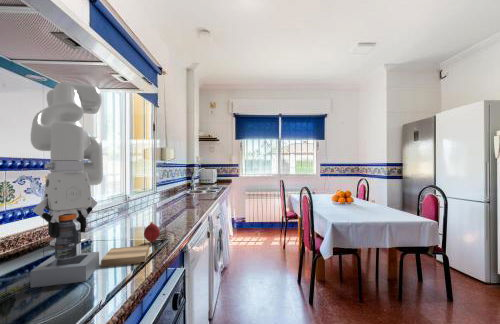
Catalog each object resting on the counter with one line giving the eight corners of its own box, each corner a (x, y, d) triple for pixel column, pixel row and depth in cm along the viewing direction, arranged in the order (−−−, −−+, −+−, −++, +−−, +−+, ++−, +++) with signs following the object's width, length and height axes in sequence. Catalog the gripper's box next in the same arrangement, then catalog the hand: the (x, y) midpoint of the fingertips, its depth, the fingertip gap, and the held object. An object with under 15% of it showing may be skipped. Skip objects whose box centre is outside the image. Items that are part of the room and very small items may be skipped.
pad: (111, 254, 90) (110, 248, 90) (149, 250, 93) (149, 245, 93) (101, 267, 78) (101, 260, 78) (145, 262, 81) (145, 255, 81)
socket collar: (52, 270, 77) (52, 255, 77) (99, 265, 80) (99, 251, 80) (30, 287, 65) (30, 271, 65) (86, 281, 68) (85, 265, 68)
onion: (162, 242, 103) (162, 221, 103) (147, 245, 100) (147, 224, 100) (156, 239, 108) (156, 219, 108) (141, 242, 104) (141, 221, 104)
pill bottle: (86, 253, 75) (85, 212, 75) (67, 260, 69) (66, 216, 69) (69, 252, 76) (68, 212, 77) (48, 259, 71) (48, 216, 71)
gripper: (36, 167, 64) (36, 244, 63) (106, 167, 79) (107, 229, 78) (22, 168, 68) (22, 240, 67) (91, 168, 83) (92, 227, 82)
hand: (68, 233), depth 73 cm, fingers closed on pill bottle, 6 cm apart
